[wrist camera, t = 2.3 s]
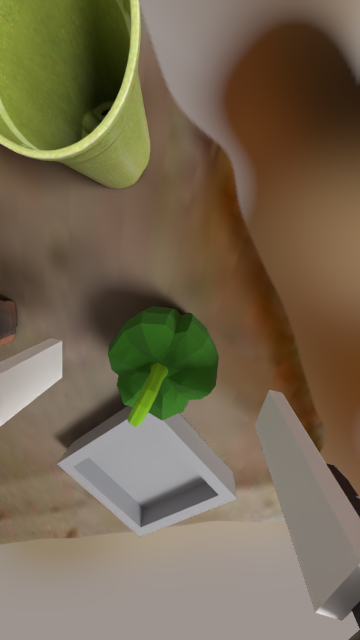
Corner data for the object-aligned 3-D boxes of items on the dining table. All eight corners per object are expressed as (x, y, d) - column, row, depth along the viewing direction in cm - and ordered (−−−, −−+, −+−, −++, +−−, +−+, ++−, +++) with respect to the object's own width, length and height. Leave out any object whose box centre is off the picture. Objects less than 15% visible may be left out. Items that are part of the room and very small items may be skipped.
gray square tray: (146, 509, 29) (140, 536, 26) (72, 442, 26) (56, 463, 23) (232, 471, 25) (236, 498, 22) (155, 387, 22) (149, 405, 19)
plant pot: (162, 61, 14) (107, -243, 6) (177, 201, 16) (154, 134, 8) (51, 91, 15) (-128, -122, 7) (81, 217, 18) (-24, 174, 9)
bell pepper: (176, 279, 18) (152, 293, 9) (227, 339, 20) (253, 409, 10) (120, 329, 20) (51, 384, 11) (169, 380, 22) (145, 470, 12)
